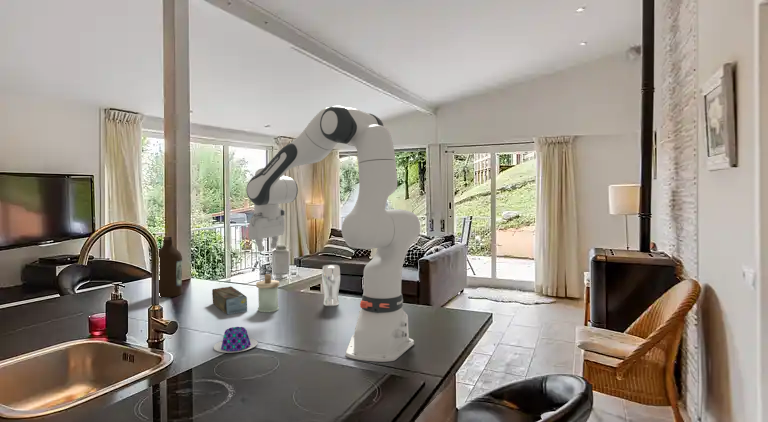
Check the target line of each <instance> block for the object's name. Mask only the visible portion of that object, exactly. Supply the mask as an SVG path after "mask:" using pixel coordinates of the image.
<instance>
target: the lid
mask: <svg viewBox="0 0 768 422" xmlns="http://www.w3.org/2000/svg"><path fill="white" fill-rule="evenodd" d="M255 285H256V288H274V287H278V288H279V287H280V281H279V280H275V279H274V280H273V279H272V274H271V273H266V274H264V280H260V281H257V282H256V283H255Z"/></svg>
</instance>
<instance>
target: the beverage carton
mask: <svg viewBox="0 0 768 422" xmlns="http://www.w3.org/2000/svg"><path fill="white" fill-rule="evenodd" d="M211 295H212V304H213V305H214V306H216V307H217V308H218V309H219V310H221V311H222V312H223V313H224V314H226V315H232V314H238V313H245V312H246V313H247V312H248V297H247V295H245V294H244V293H242V292H241V291H239V290H238V289H236V288H234V287H233V286H231V285H230V286H226V287H219V288H212V293H211Z"/></svg>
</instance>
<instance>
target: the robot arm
mask: <svg viewBox="0 0 768 422" xmlns="http://www.w3.org/2000/svg"><path fill="white" fill-rule="evenodd" d="M338 143H339V144H343V145H348V146H351V147H355V150H356V152H357V163H358V164H357V165H358V167H357V168H358V184H359V185H358V186H359V187H358V196H357V200H356V202H355V204H354V206H353V208H352V209H351V211H350V212H349V213H348V214H347V215H346V216H345V218H344V219H343V222H342V224H341V234H342V235H341V236H342V239H343V240H344V242H345V244H347V246H348V247H350V248H354V249H360V250H370V249H371V250H372V249H376V252H375V253H374V255H373V257H372V259H371V260H370V261H368V262H367V263H366V265H365V266H364V268H363V294H362V295H361V296H362V297H361V301H360V303H359V306H360V308H361V309H360V310H359V312H358V317H357V320H356V324H355V328H354V334H352V335H351V338H350V341H349V344H348V346H347V348H346V350H345V356H346V358H350V359H353V360H359V361H365V362H383V363H384V362H386V363H387V362H394V361H396V360H397V359H398V358H400V357H401V356H402V355H403V354H404V353H405V352H406V351H408V350H409V349H410V348H411V347H413V346H414V345H415V340H414V339H413V338H410V337H409V336H410V335H409V318H408V317H409V316H408V314H407V312H406V311H404V309H403V306H404V298H403V293H402V277H403V276H402V275H403V274H402V273H403V267H404V266H403V265H404V262H405V258H406V256H407V253H408V251H409V249H410V247H411V246H412V245H413V243H414V242H415V241H416V240H417V239H418V238H419V236H420V233H421V223H420V219H419V217H418V216H417V214H416V213H414V212H413V211H411V210H410V211H409V210H406V209H400V208H399V209H397V208H396V209H395V208H394V209H386V205H387V201H388V198H389V197H390V196H391V195H392V194H393V193H395V192H396V191H397V189H398V188H397V187H398V173H397V164H396V163H397V162H396V153H395V148H394V142H393V139H392V136H391V132H390V130H389V129H388V128H387V127H385V126H384V123H383V121H382V120H381V118H379V117H378V116H377V115H375V114H373V113H368V112H366V111H363V110H360V109H358V108H353V107H346V106H343V105H333V106H329V107H324V108H323V109H321V110H320V111H319V112H318V113H316V115H315V116H314V117H313V118H312V119H311V120H310V121H309V123H308V124H307V125H306V127H305V128H304V129H303V131H302V132H301V133H300V134H298V136H297V137H296V138H295V139H294V140H292V141H291V142H290V143H287V144H286V145H285V146H283V147H282V148H281V149H280V150H279V151H278V152H277V153H276V154H275V155H274V156H273V157H272V159H270V161H269V162H268V163H267V164H266V165H265V166H264V167H262V168H259V169H257V170H255V173H254V176H253V177H251V178H250V179H249V181H248V183H247V185H246V190H245V191H246V195H247V197H248V199H249V200H250V202H252V203H253V205H254V206H253V208H254V210H253V211H254V212H253V214H252V215H251V217H250V219H249V225H248V238H249V239H250V240H251V241H253V240H254V241H255V245H256V246H257V251H258V252H260V253H261V252H264V251H265V246H264V245H263V244H264V243H263V242H264V239H268V238H271V239H272V241H271V243H270V248H271V249H277V247H278V241H279V236H283V235H284V233H285V215H286V211H285V210H284V209H282V208H281V207H280V204H289V203H292V202H294V201H295V200H296V199H297V196H298V193H299V188H298V184H297V182H296V181H295V179H294V178H292V177H290V176H286V175H285V174H286V173H287V172H288V171H290V170H291V169H293V168H295V167H296V168H297V167H299V166H303V165H309V164H311V165H312V164H316V163H319V162H321V161H323V160H324V159H326V158H327V157H328V155H329V154H331V152H332V151H333V150H334V148H335V147H336V146H337V144H338Z"/></svg>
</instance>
